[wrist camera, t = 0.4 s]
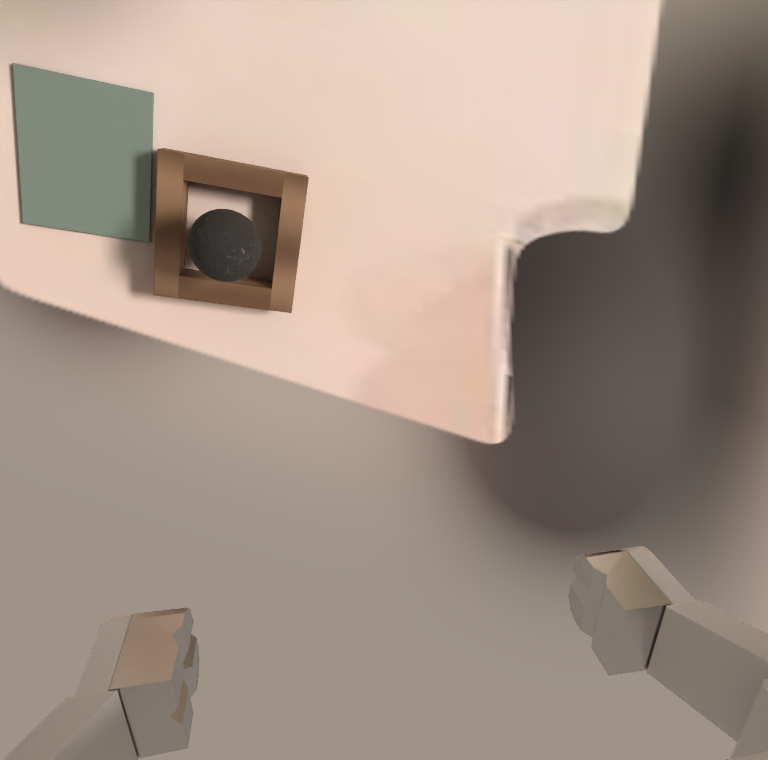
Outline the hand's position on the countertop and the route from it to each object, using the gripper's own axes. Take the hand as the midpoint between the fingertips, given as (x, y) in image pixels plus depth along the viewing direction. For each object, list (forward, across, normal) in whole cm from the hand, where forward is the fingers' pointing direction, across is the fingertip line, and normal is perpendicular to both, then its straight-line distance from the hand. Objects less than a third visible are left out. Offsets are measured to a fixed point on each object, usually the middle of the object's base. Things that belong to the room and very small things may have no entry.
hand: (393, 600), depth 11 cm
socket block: (+44, +6, -1) cm, 44 cm away
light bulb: (+44, +6, -1) cm, 44 cm away
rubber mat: (+44, +18, -7) cm, 48 cm away
